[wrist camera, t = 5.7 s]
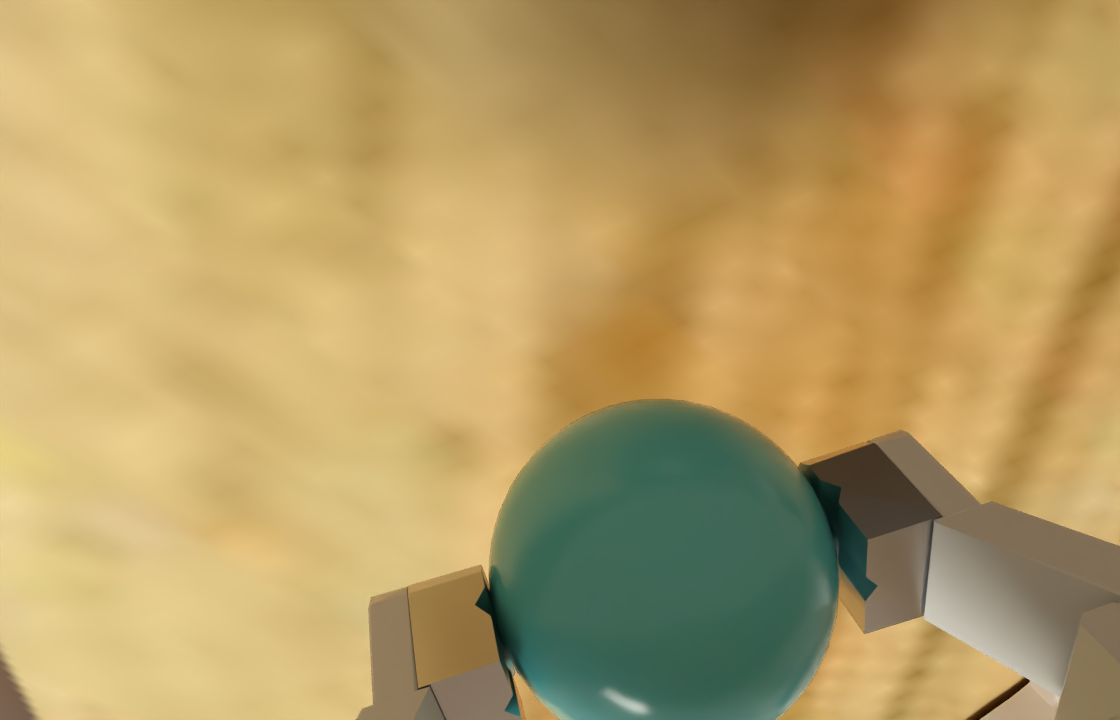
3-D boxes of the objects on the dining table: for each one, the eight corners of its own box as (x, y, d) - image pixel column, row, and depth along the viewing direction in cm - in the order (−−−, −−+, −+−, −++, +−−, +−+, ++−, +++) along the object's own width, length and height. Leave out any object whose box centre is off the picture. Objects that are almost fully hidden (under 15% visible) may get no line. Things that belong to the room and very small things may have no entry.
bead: (734, 299, 12) (932, 508, 8) (750, 521, 14) (905, 757, 10) (428, 392, 11) (485, 661, 7) (501, 604, 14) (571, 883, 10)
